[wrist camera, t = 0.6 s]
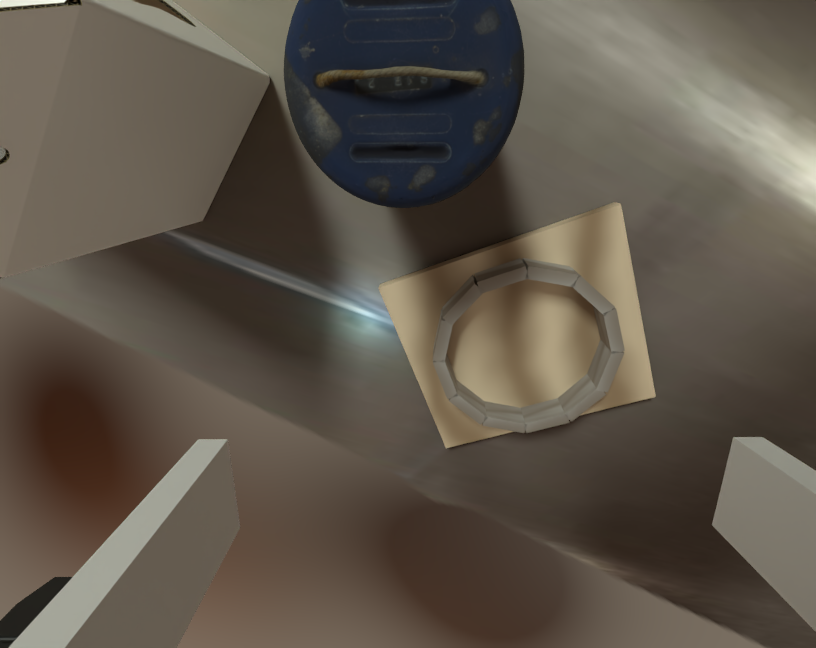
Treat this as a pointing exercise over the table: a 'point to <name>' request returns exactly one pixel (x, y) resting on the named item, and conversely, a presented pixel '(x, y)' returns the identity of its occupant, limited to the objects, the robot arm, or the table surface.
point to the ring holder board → (526, 329)
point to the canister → (404, 92)
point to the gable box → (112, 124)
